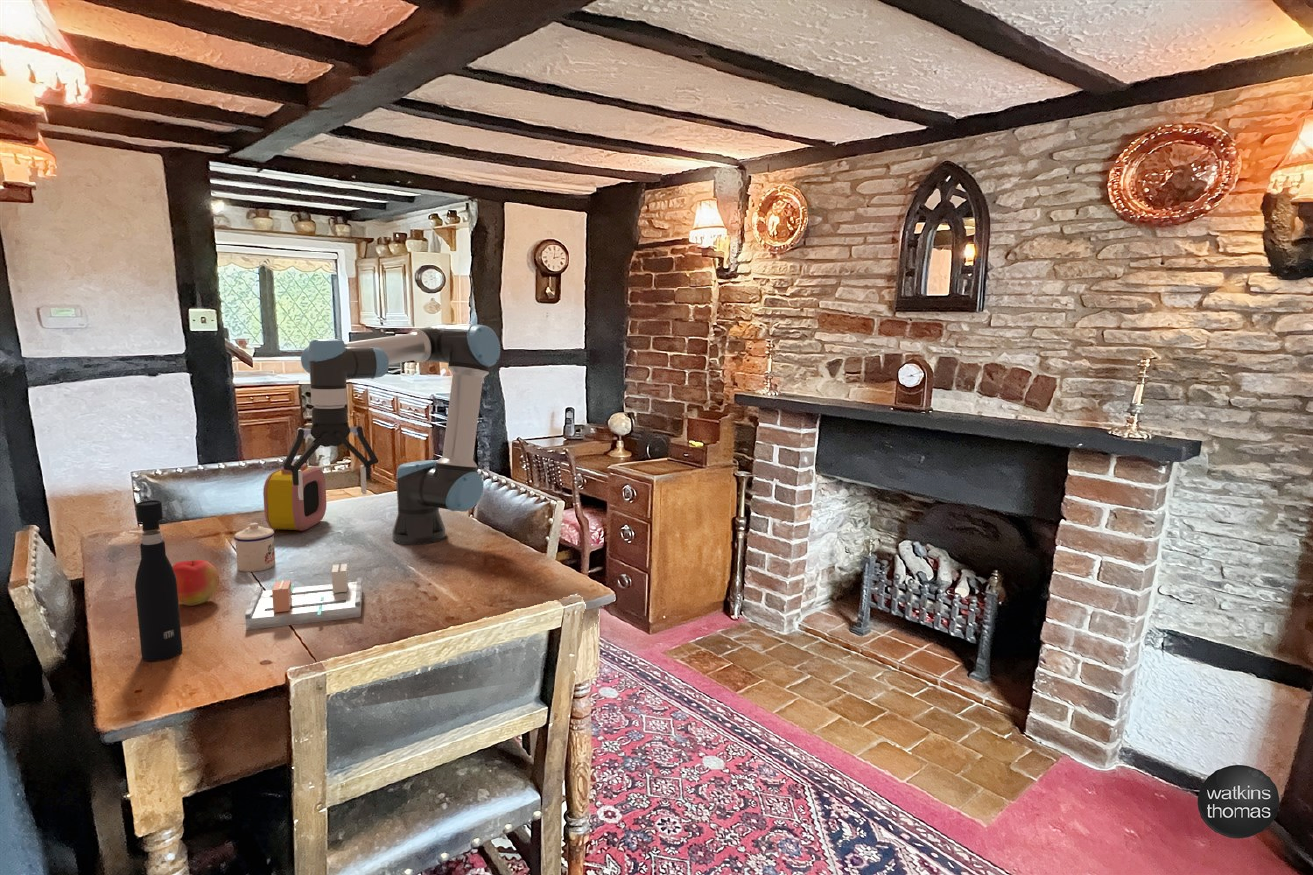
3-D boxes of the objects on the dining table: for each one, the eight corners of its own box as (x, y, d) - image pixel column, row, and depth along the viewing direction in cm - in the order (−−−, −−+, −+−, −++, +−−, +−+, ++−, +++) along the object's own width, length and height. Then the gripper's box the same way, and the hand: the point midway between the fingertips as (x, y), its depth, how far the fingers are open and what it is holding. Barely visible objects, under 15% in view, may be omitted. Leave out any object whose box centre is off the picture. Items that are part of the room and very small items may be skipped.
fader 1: (292, 602, 154) (290, 579, 153) (289, 610, 149) (288, 587, 149) (276, 603, 153) (275, 580, 152) (273, 612, 148) (272, 589, 147)
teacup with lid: (273, 570, 180) (271, 526, 178) (233, 574, 176) (230, 529, 174) (279, 555, 191) (277, 514, 189) (241, 559, 187) (238, 517, 185)
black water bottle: (155, 646, 137) (141, 498, 132) (189, 646, 138) (177, 498, 133) (134, 662, 131) (118, 507, 126) (170, 661, 131) (156, 507, 127)
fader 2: (347, 583, 165) (347, 562, 164) (347, 591, 161) (346, 569, 160) (334, 585, 164) (333, 564, 163) (332, 592, 160) (331, 571, 159)
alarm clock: (299, 535, 209) (296, 472, 206) (263, 534, 209) (258, 471, 206) (329, 518, 227) (326, 460, 224) (295, 517, 227) (292, 459, 224)
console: (362, 587, 170) (361, 574, 170) (360, 620, 151) (359, 605, 151) (259, 597, 162) (259, 583, 162) (244, 634, 143) (243, 618, 143)
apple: (182, 615, 152) (178, 571, 150) (161, 605, 157) (157, 562, 155) (228, 601, 160) (225, 559, 158) (207, 592, 165) (204, 551, 163)
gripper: (382, 403, 171) (385, 487, 175) (266, 406, 158) (271, 497, 161) (389, 406, 165) (391, 493, 168) (269, 410, 152) (274, 504, 155)
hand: (333, 495), depth 165 cm, fingers open, 13 cm apart
